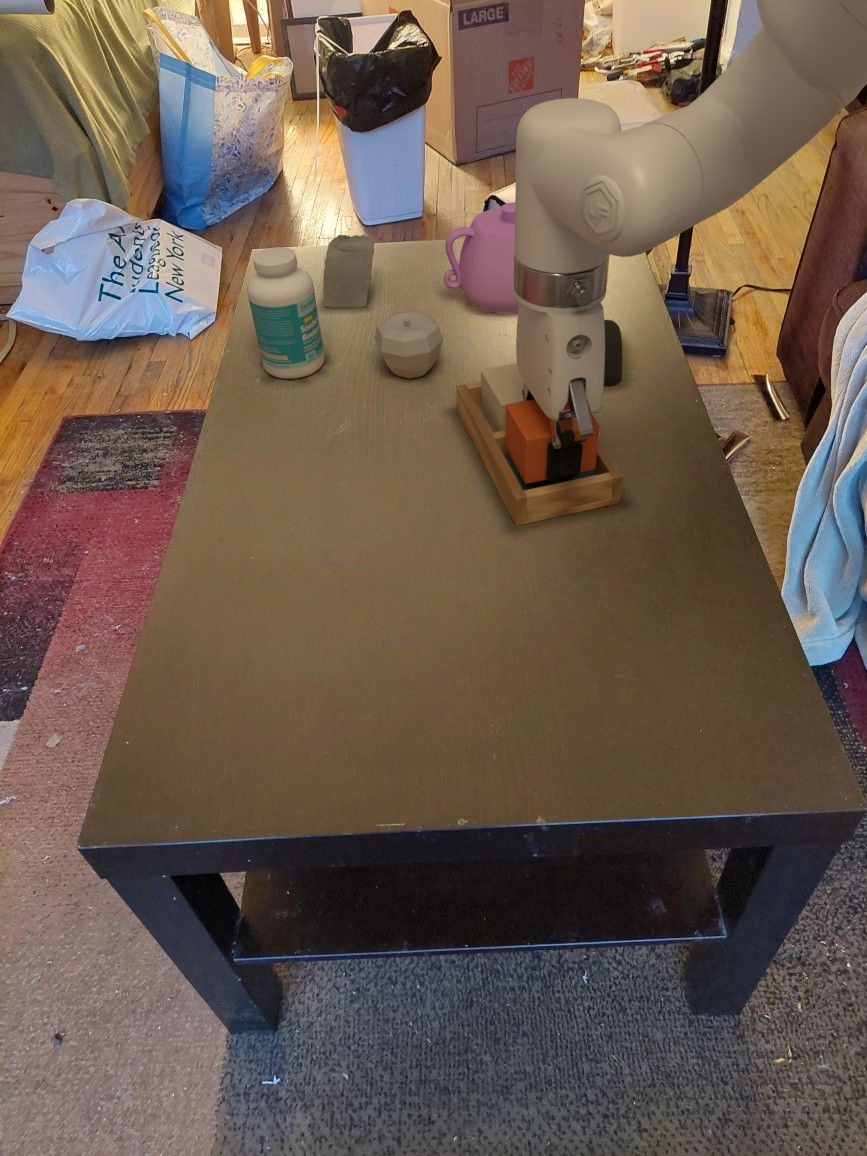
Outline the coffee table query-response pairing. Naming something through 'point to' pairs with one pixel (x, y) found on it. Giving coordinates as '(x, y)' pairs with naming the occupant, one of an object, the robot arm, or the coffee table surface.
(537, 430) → the orange block
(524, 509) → the holder
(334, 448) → the coffee table surface
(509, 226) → the teapot
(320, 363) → the pill bottle
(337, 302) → the mineral specimen
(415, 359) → the apple
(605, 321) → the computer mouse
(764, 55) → the robot arm
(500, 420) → the beige block
